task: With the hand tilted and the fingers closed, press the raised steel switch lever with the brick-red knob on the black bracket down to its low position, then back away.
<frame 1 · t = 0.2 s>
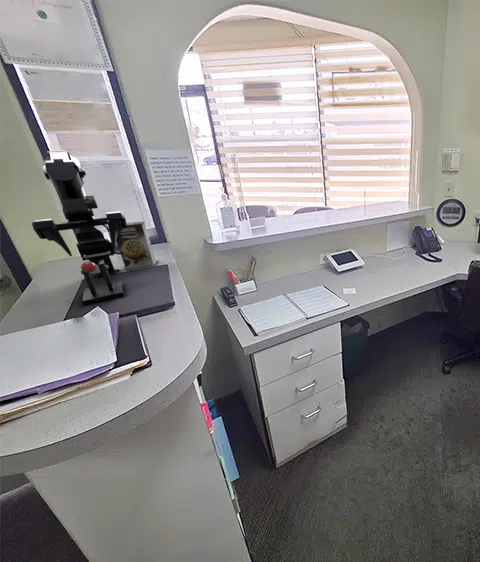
hand: (93, 251, 85), 14 cm above the table, tool tilted 35°, fingers open, 9 cm apart
cookie box: (141, 265, 119), on the table
lever: (91, 268, 85), point 10 cm above the table, hinge at 18.0°
bracket: (104, 294, 92), on the table
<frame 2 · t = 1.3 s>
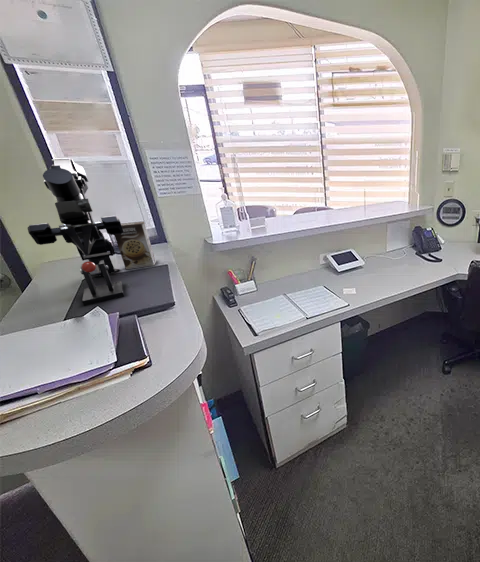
hand: (86, 254, 84), 14 cm above the table, tool tilted 45°, fingers closed
nothing on the table moved.
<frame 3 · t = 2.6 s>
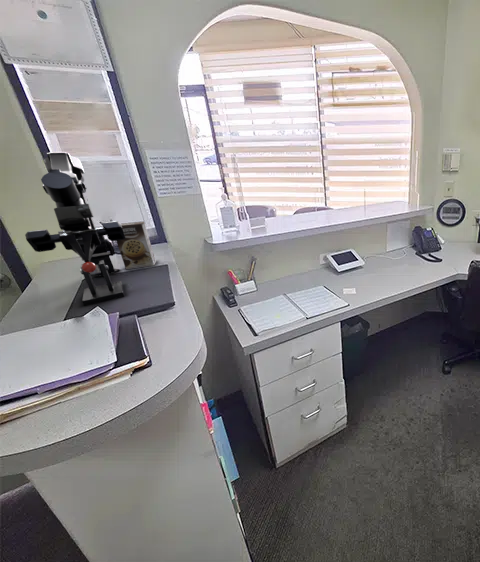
hand: (87, 261, 80), 13 cm above the table, tool tilted 45°, fingers closed, pressing on lever
lever: (91, 268, 85), point 10 cm above the table, hinge at 17.5°, touching gripper
everything else where it was.
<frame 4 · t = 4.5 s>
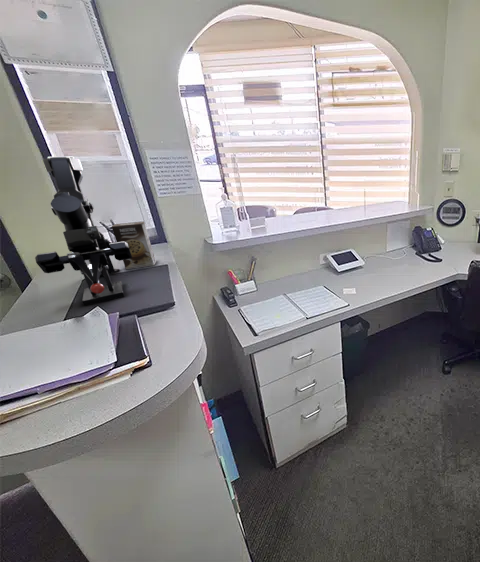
hand: (95, 282, 82), 7 cm above the table, tool tilted 45°, fingers closed, pressing on lever
lever: (96, 278, 86), point 7 cm above the table, hinge at -13.9°, touching gripper
everything else where it was.
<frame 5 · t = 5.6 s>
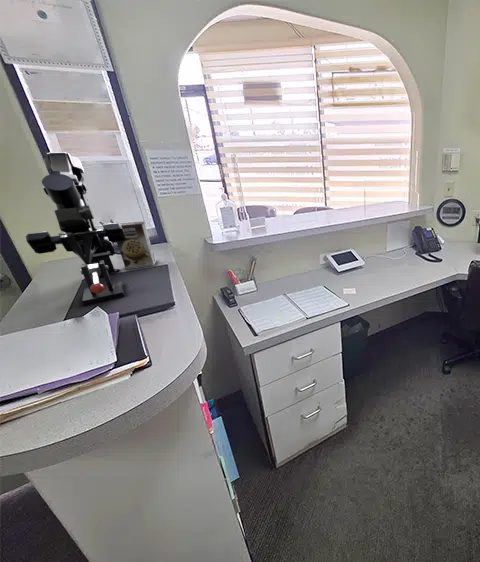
hand: (87, 263, 81), 12 cm above the table, tool tilted 45°, fingers closed
lever: (96, 278, 86), point 7 cm above the table, hinge at -13.9°
everything else where it was.
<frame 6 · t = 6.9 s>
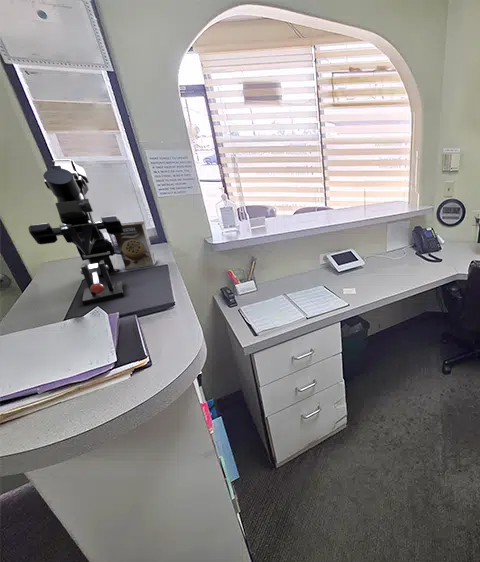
hand: (87, 254, 85), 13 cm above the table, tool tilted 45°, fingers closed
nothing on the table moved.
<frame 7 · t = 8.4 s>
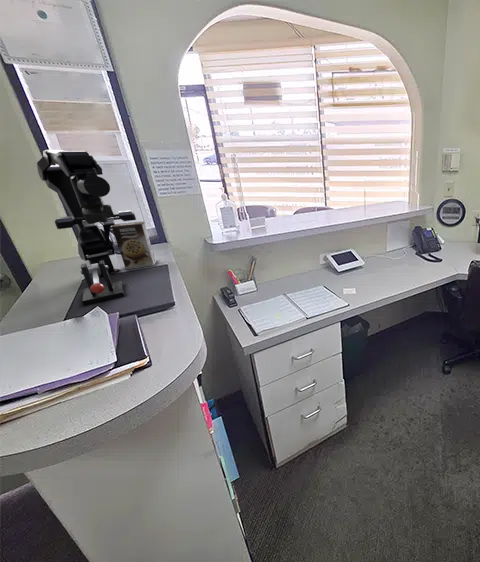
hand: (107, 245, 99), 12 cm above the table, tool pointing down, fingers closed
nothing on the table moved.
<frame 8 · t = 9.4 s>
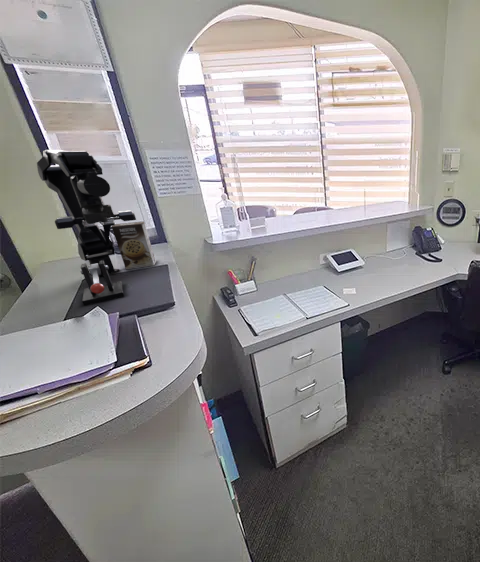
hand: (107, 245, 99), 12 cm above the table, tool pointing down, fingers closed
nothing on the table moved.
at the end: lever at -14° (first picture: +18°); cookie box moved 0.2 cm from its start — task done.
